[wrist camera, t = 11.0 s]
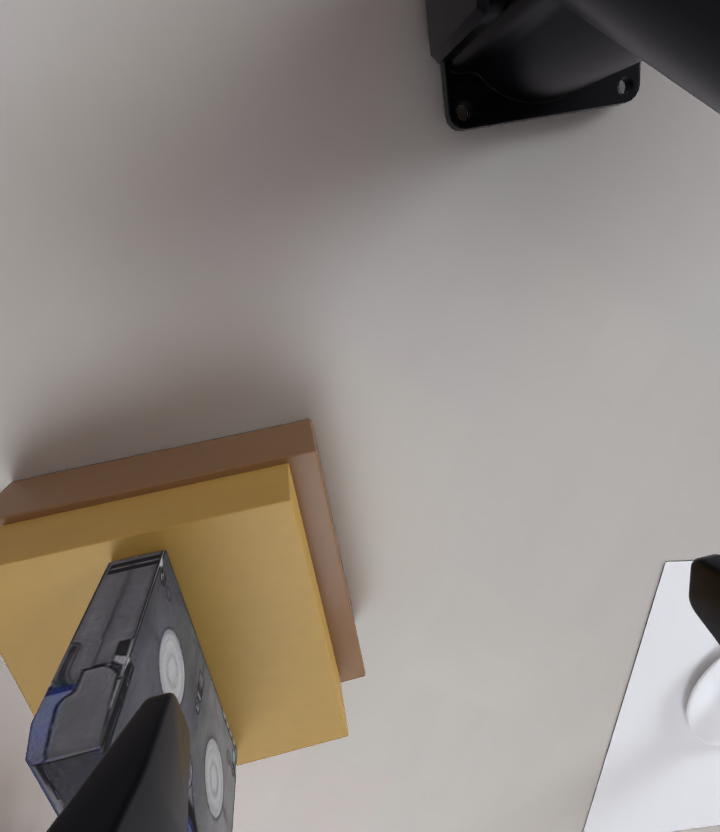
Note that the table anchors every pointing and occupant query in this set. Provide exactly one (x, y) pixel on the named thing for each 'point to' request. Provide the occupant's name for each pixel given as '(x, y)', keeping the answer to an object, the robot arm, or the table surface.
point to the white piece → (666, 725)
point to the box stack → (197, 574)
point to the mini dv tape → (134, 690)
